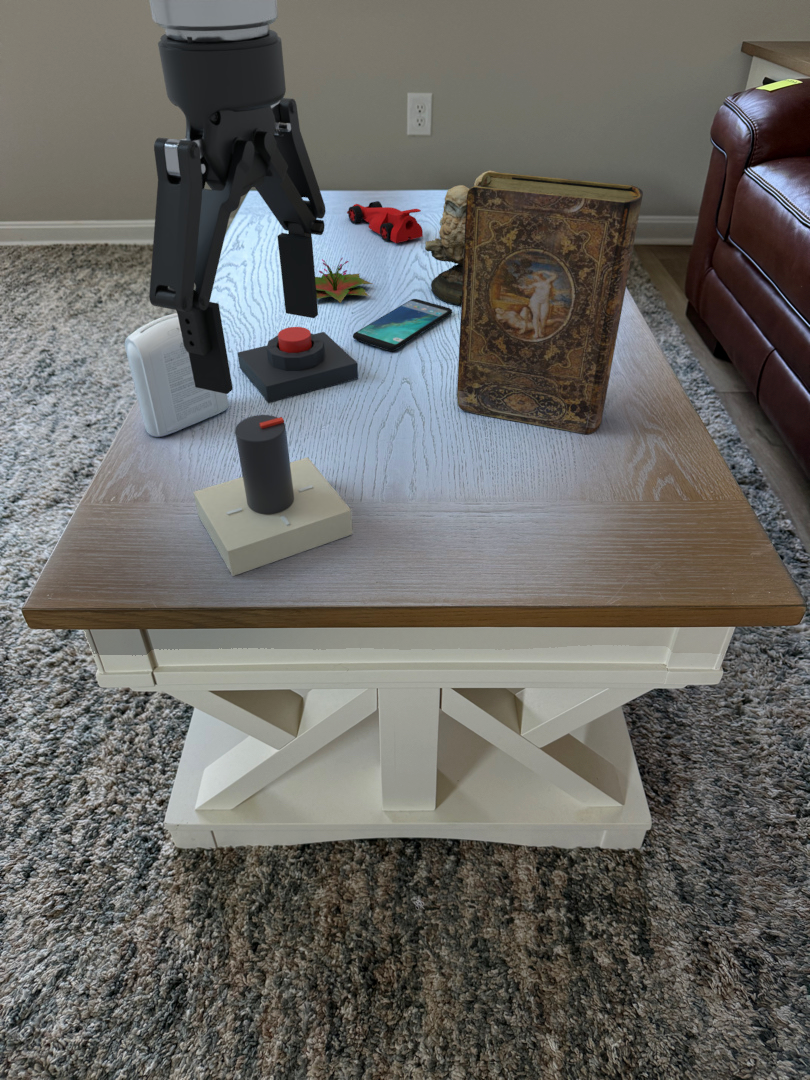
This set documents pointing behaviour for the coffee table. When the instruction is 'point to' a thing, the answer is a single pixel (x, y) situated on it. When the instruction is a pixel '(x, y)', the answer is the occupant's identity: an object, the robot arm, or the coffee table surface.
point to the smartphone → (402, 324)
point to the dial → (265, 463)
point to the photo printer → (167, 379)
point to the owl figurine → (451, 244)
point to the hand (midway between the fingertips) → (261, 348)
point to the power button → (294, 339)
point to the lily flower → (339, 284)
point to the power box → (297, 367)
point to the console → (273, 520)
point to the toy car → (387, 221)
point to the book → (543, 297)
